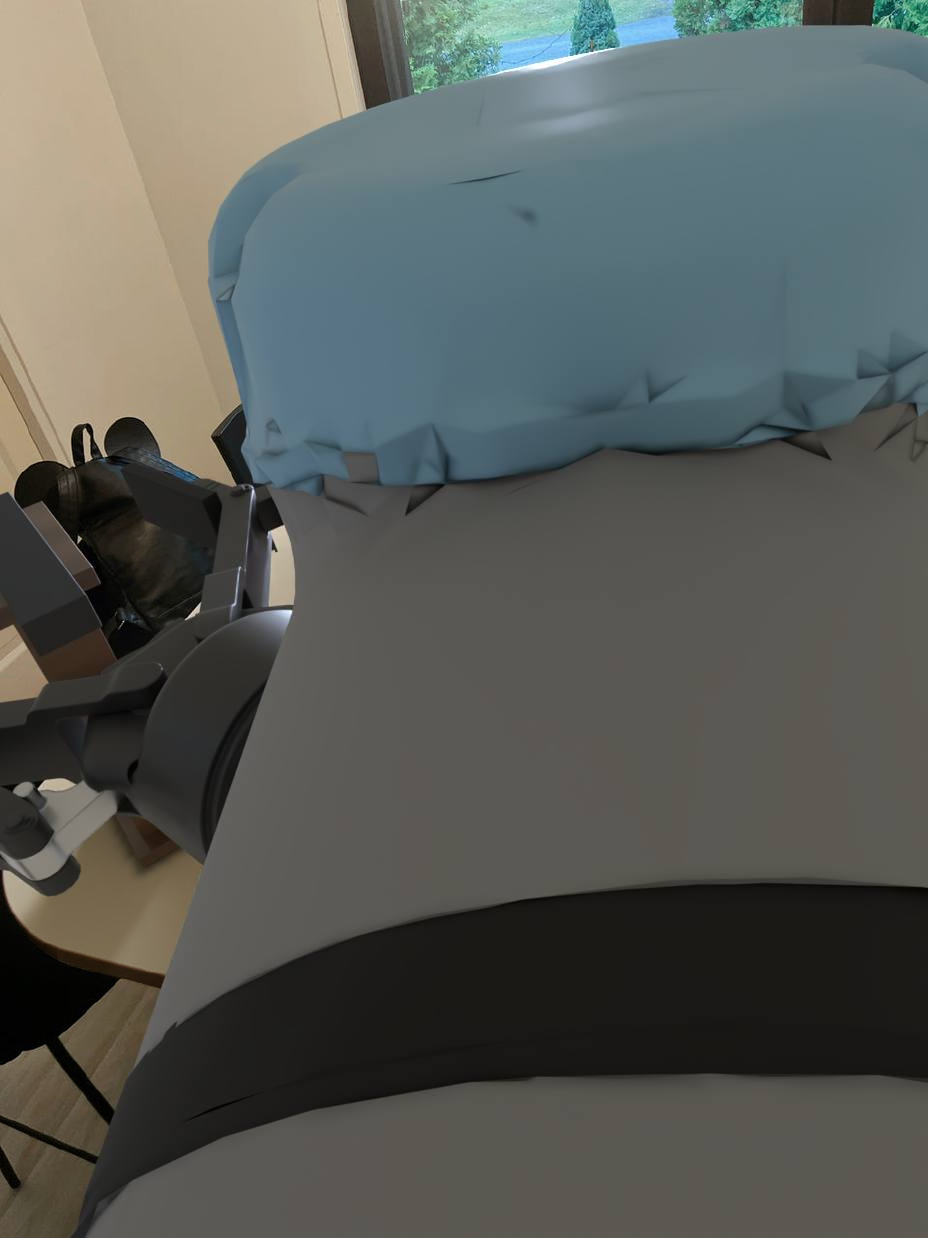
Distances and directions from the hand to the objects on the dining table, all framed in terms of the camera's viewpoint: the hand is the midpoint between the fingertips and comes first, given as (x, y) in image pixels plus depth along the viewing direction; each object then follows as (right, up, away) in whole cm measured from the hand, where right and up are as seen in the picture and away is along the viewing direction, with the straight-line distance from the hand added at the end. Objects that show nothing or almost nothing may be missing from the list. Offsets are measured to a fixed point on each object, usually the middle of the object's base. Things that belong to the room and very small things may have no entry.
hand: (2, 571), depth 36 cm
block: (-9, -19, +45) cm, 50 cm away
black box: (-11, +1, +24) cm, 26 cm away
